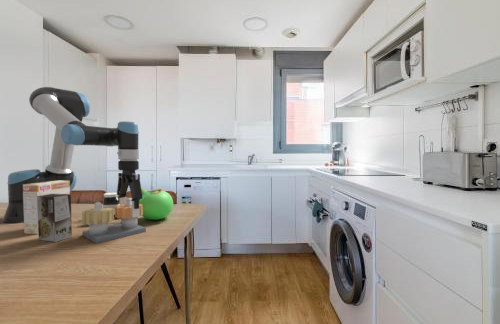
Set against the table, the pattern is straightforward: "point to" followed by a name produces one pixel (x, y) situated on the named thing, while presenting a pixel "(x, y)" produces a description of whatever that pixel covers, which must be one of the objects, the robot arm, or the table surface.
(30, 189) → the coffeecake box
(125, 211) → the orange gear
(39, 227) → the coffee box
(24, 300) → the table surface
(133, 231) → the gear board
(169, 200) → the green teapot
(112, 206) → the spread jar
